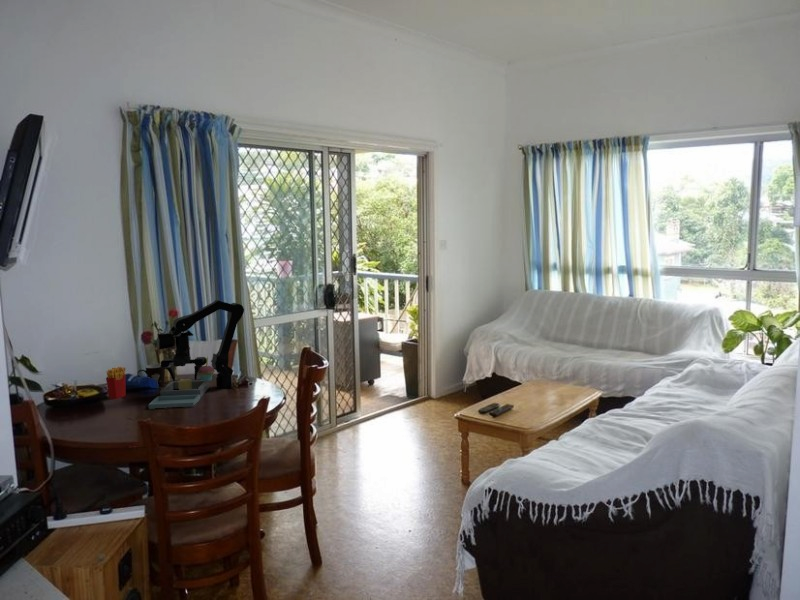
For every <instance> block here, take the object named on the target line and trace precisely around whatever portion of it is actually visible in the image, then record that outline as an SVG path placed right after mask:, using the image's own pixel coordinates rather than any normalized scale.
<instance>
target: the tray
mask: <svg viewBox="0 0 800 600" xmlns="http://www.w3.org/2000/svg"><path fill="white" fill-rule="evenodd" d="M200 400H201V397H200V395H179V396H160V395H159V396H156V397H155V398H153V400H152V401H151V402H150V403H149V404H148V410H156V409H155V408H165V409H168V408H167V407H186V408H193V407H192V406H194V405H195V404H196V403H197V402H199V401H200ZM197 404H198V403H197ZM197 404H196V405H197ZM196 405H195V406H196ZM195 406H194V407H195Z"/></svg>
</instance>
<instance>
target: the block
mask: <svg viewBox="0 0 800 600" xmlns="http://www.w3.org/2000/svg"><path fill="white" fill-rule="evenodd" d="M177 381H178V385H179V390H184V389H192V384H191V381H192V378H180V380H177Z"/></svg>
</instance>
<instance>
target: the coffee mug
mask: <svg viewBox="0 0 800 600" xmlns="http://www.w3.org/2000/svg"><path fill="white" fill-rule="evenodd" d="M140 372H144V373H145V374H146V377H147V378H148V377H150V378H153V379H156V380H157V381H158V384H159V387H162V388H164V387H165V375H166V369H164V367H161V365H160V363H154V364H148V365H146V366H145V369H139V370H138V371H137V377H138V378H139V377H141V376H140V375H139V373H140ZM163 386H164V387H163Z"/></svg>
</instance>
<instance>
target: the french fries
mask: <svg viewBox="0 0 800 600" xmlns="http://www.w3.org/2000/svg"><path fill="white" fill-rule="evenodd" d="M106 376H107V377H105V381H106V385H107V391H108V397H109V399H110V400H115V399H116V400H117V399H121V398H122V397H123V398H124V397H126V367H123V366H117V367H115V366H114V367H112V368H111V369H107V371H106Z"/></svg>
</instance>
